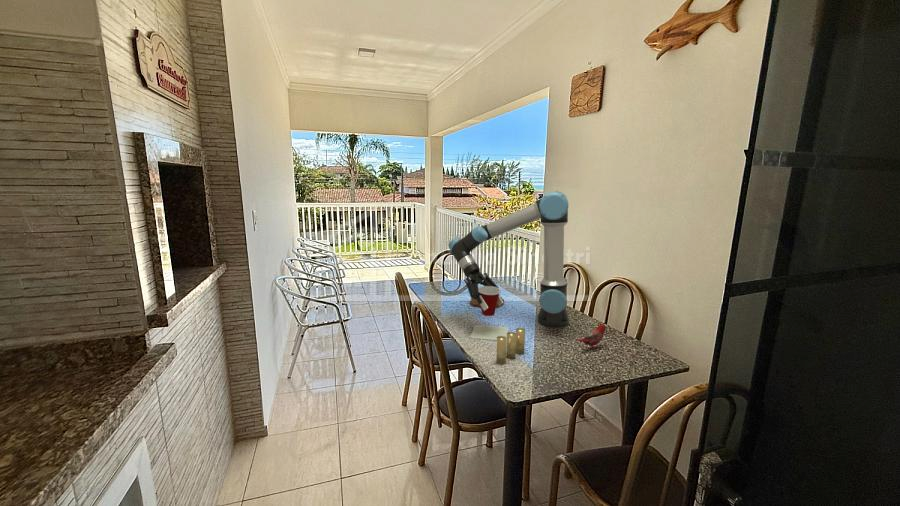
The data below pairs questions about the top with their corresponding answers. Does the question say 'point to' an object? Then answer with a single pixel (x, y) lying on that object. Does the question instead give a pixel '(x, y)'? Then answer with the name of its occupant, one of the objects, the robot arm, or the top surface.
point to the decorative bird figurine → (594, 336)
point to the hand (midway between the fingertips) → (493, 306)
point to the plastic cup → (489, 299)
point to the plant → (476, 304)
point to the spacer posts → (510, 345)
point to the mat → (488, 332)
